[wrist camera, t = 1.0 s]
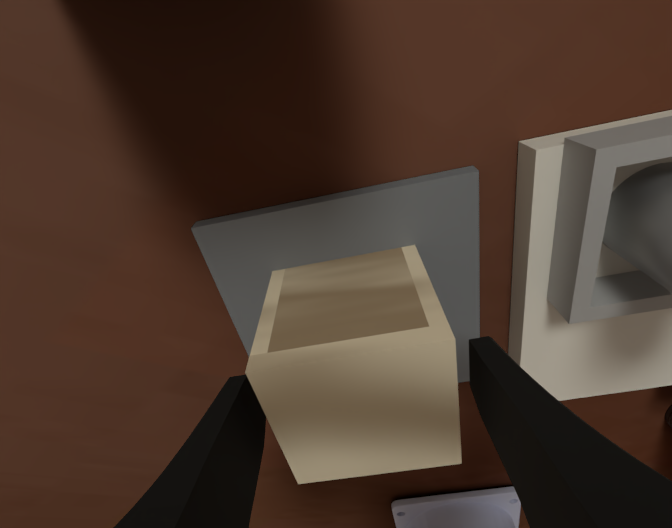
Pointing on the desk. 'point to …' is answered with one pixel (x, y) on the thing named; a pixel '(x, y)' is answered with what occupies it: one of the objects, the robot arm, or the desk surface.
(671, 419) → the pin
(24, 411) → the desk surface
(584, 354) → the build board
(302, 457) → the box
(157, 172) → the desk surface
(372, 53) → the desk surface
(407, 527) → the robot arm
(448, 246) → the tile
